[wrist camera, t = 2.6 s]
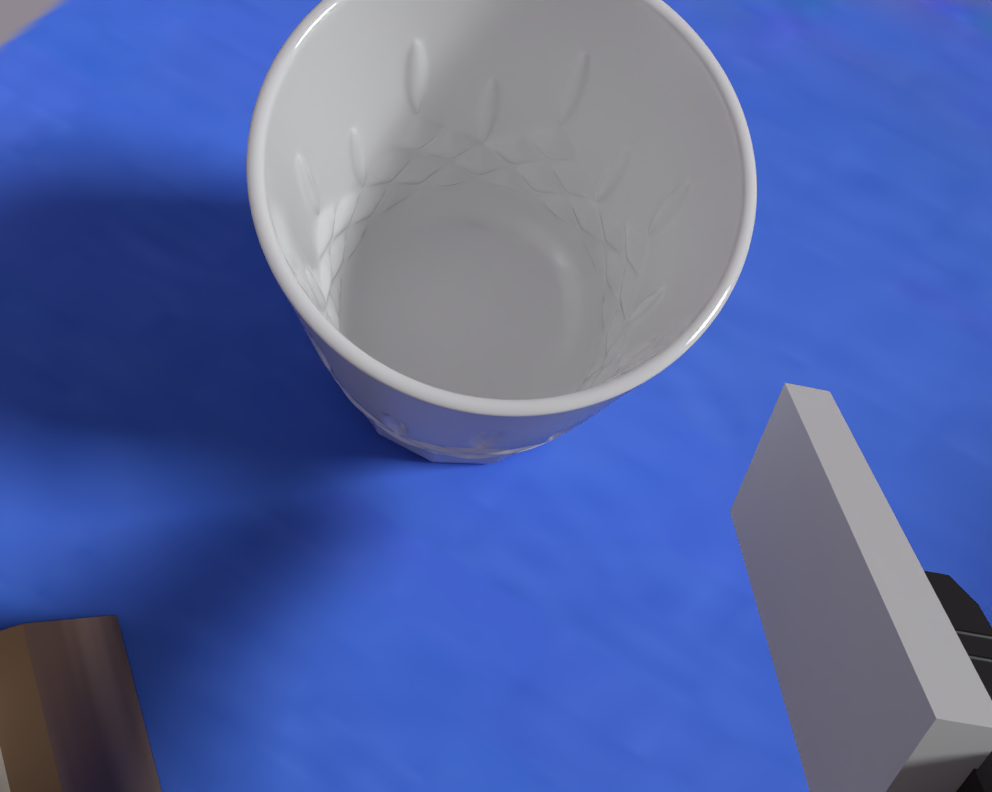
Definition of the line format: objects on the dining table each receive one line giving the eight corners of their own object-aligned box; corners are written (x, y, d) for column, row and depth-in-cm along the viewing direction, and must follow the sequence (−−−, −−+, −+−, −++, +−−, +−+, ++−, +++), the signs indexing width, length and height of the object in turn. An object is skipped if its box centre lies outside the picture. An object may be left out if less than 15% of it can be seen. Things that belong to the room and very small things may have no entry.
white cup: (251, 304, 23) (140, 99, 13) (494, 144, 25) (551, -143, 15) (434, 552, 22) (457, 525, 13) (674, 370, 24) (858, 221, 14)
